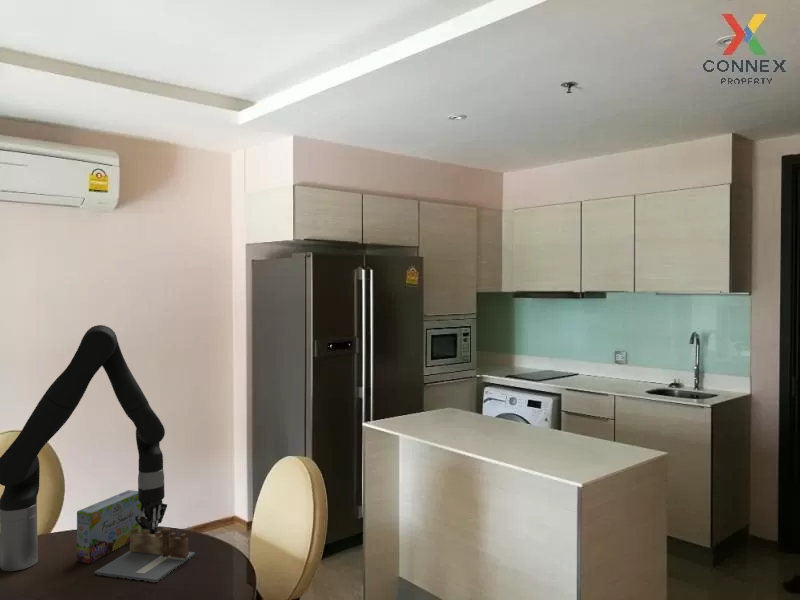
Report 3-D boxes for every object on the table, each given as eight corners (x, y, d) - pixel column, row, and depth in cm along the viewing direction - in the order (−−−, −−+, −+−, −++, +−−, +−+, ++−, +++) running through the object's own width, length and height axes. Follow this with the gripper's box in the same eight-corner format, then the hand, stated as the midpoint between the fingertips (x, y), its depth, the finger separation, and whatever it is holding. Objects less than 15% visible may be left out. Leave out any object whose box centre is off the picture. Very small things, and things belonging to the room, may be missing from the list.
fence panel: (129, 551, 186) (129, 529, 186) (133, 549, 188) (133, 528, 187) (160, 554, 183) (160, 533, 183) (163, 552, 185) (163, 531, 185)
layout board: (94, 574, 174) (94, 571, 174) (137, 548, 191) (137, 545, 191) (156, 582, 168) (156, 579, 168) (195, 555, 186) (195, 552, 186)
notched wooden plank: (159, 559, 183) (159, 530, 183) (165, 556, 185) (164, 527, 185) (184, 562, 181) (184, 533, 180) (189, 558, 183) (189, 529, 183)
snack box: (91, 564, 180) (90, 512, 180) (76, 562, 182) (75, 510, 182) (143, 536, 200) (142, 490, 200) (128, 534, 202) (128, 488, 202)
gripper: (154, 477, 199) (154, 531, 200) (126, 490, 186) (127, 547, 187) (174, 478, 197) (175, 533, 198) (148, 492, 185) (149, 550, 185)
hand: (152, 540), depth 192 cm, fingers closed
